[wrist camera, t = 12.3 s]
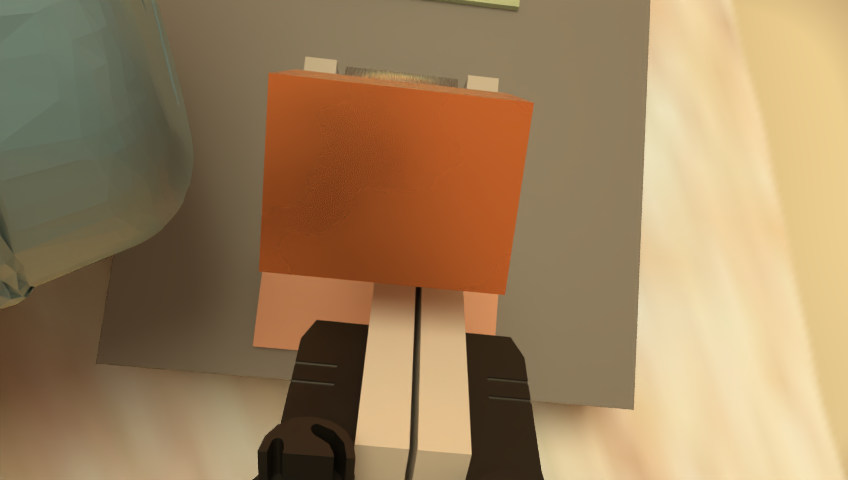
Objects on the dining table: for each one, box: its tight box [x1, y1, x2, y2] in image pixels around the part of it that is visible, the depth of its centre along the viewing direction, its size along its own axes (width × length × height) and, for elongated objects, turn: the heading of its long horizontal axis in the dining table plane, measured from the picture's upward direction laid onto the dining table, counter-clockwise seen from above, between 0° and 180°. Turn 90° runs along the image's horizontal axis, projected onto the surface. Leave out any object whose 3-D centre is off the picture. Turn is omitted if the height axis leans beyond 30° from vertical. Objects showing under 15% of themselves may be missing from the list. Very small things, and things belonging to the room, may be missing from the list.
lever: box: [259, 66, 534, 295], centre depth 16 cm, size 4×3×14 cm
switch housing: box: [96, 0, 650, 410], centre depth 25 cm, size 18×18×8 cm
